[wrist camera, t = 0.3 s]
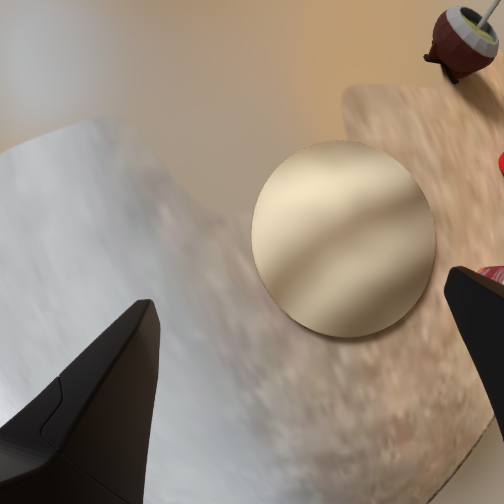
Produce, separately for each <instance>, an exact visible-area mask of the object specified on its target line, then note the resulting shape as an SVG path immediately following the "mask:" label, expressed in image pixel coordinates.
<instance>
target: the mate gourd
mask: <svg viewBox="0 0 504 504" xmlns="http://www.w3.org/2000/svg"><path fill="white" fill-rule="evenodd" d="M500 1H501V0H494V2H493V3H492V4H491V6H490V7H489V9H488V10H487V12H486V13H485V15H484V16H483V17H482V16H481V15H480V14H479V13H477V12H476V11H474V10H472V9H471V8H468V7H465V6H457V7H451V8H448V10H446V11H445V12H443V13H442V14H441V15H440V17H439V18H438V20H437V22H436V24H435V27H434V30H433V41H432V47H431V49H430V52H429V54H425V55H424V59H425V61H426V62H432V63H438V64H442V65H443V66H444V67H445V69H446V71H447V73H448V75H449V78H450V80H451V82H452V83H453V84H457V83H459V82H458V79H461V78H464V77H466V76H468V75H470V74H472V73H473V72H476V71H478V70H481V69H483V68H485V67H486V66H488V65H490V64H491V62H492V61H493V60H494V58H495V56H496V55H497V51H498V44H499V40H498V38H497V35H496V33H495V31H494V29H493V28H492V26H491V25H490V24H489V23H488V22H487V20H488V18H489V17H490V15H491V14H492V13H493V11H494V10H495V8H496V7H497V5H498V4H499V2H500Z"/></svg>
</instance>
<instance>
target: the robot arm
mask: <svg viewBox="0 0 504 504" xmlns="http://www.w3.org/2000/svg"><path fill="white" fill-rule="evenodd" d="M444 295H445V298H446V300H447V303H448V305H449V307H450V310H451V312H452V315H453V317H454V320H455V322H456V325H457V327H458V330H459V332H460V334H461V337H462V339H463V341H464V343H465V345H466V347H467V349H468V351H469V353H470V356H471V358H472V360H473V362H474V364H475V367H476V369H477V371H478V374H479V376H480V378H481V381H482V383H483V385H484V388H485V390H486V393H487V395H488V398H489V400H490V403H491V406H492V408H493V411H494V414H495V417H496V419H497V422H498V425H499V428H500V431H501V434H502V437H503V441H504V285H503V284H501V283H499V282H497V281H495V280H492V279H490V278H488V277H486V276H484V275H481V274H479V273H477V272H475V271H473V270H470V269H468V268H466V267H463V266H457V267H452V268H451V269H450V271H449V274H448V277H447V281H446V284H445V287H444ZM159 347H160V321H159V318H158V315H157V312H156V308H155V305H154V302H153V301H152V300H151V299H144V300H137V301H136V302H135V303H134V304H133V305H132V306H131V307H129V308H128V309H127V310H126V311H125V312H124V313H123V314H122V315H121V316H120V317H119V318H118V319H117V320H115V321H114V322H113V323H112V324H111V325H110V326H109V327H108V328H107V329H106V330H105V331H104V332H103V333H102V334H101V335H100V336H98V337H97V338H96V339H95V340H94V341H93V342H92V343H91V344H90V345H89V346H88V347H87V348H86V349H85V350H84V351H83V352H82V353H81V354H80V355H79V356H78V357H77V358H76V359H75V360H74V361H72V362H71V363H70V364H69V365H68V366H67V367H66V368H65V369H64V370H63V371H62V372H61V373H60V374H59V377H58V376H57V377H56V378H55V379H54V380H53V381H52V382H51V383H50V384H49V385H48V386H47V387H46V388H45V389H44V390H43V391H42V392H41V393H40V394H39V395H38V396H37V397H36V398H34V399H33V400H32V401H31V402H30V403H29V404H28V405H26V406H25V407H24V408H23V409H22V410H21V411H20V412H18V413H17V414H16V415H15V416H14V417H13V418H11V419H10V420H9V421H8V422H7V423H6V424H4V425H3V426H2V427H1V428H0V504H143V495H144V484H145V473H146V464H147V455H148V446H149V438H150V430H151V422H152V415H153V408H154V401H155V394H156V388H157V381H158V369H159Z"/></svg>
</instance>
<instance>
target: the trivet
mask: <svg viewBox="0 0 504 504" xmlns="http://www.w3.org/2000/svg"><path fill="white" fill-rule="evenodd" d="M251 239H252V251H253V256H254V262H255V265H256V268H257V271H258V274H259V276H260V278H261V280H262V282H263V285H264V287H265V288H266V290H267V291H268V293H269V294H270V296H271V297H272V299H273V300H274V301H275V302H276V303H277V304H278V306H279V307H280V308H281V309H282V310H283V311H285V312H286V313H287V314H288V315H289V316H290V317H291V318H293V319H294V320H296V321H297V322H299V323H300V324H302V325H303V326H305V327H307V328H309V329H311V330H313V331H316V332H319V333H322V334H325V335H329V336H336V337H359V336H365V335H369V334H372V333H376V332H378V331H381V330H383V329H385V328H387V327H389V326H390V325H392V324H394V323H395V322H397V321H398V320H399V319H401V318H402V317H403V316H404V315H405V314H406V313H407V312H408V311H409V310H410V309H411V308H412V307H413V306H414V305H415V303H416V302H417V300H418V299H419V298H420V296H421V295H422V293H423V291H424V289H425V287H426V285H427V283H428V280H429V278H430V275H431V272H432V268H433V264H434V258H435V249H436V237H435V227H434V222H433V217H432V213H431V210H430V207H429V204H428V202H427V200H426V198H425V196H424V193H423V192H422V190H421V188H420V187H419V185H418V183H417V182H416V181H415V179H414V178H413V177H412V176H411V174H410V173H409V172H408V171H407V170H406V169H405V168H404V167H403V166H402V165H401V164H400V163H399V162H397V161H396V160H395V159H393V158H392V157H391V156H389V155H387V154H386V153H384V152H383V151H381V150H378V149H376V148H374V147H372V146H369V145H366V144H362V143H358V142H352V141H338V140H336V141H326V142H322V143H318V144H314V145H311V146H309V147H306V148H304V149H302V150H300V151H298V152H296V153H295V154H293V155H291V156H290V157H289V158H288V159H286V160H285V161H284V162H282V164H281V165H280V166H279V167H278V168H277V169H276V170H275V171H274V172H273V173H272V175H271V176H270V178H269V179H268V180H267V182H266V184H265V185H264V188H263V189H262V191H261V193H260V196H259V199H258V201H257V204H256V207H255V212H254V216H253V221H252V233H251Z"/></svg>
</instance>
